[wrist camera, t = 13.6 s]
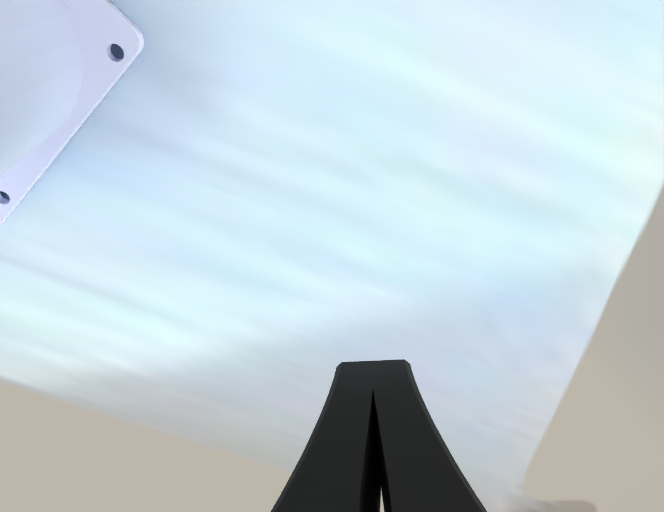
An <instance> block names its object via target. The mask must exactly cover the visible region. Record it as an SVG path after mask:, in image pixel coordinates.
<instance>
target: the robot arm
mask: <svg viewBox="0 0 664 512" xmlns="http://www.w3.org/2000/svg"><path fill="white" fill-rule="evenodd" d="M112 44H117V45H119V46H120V47H121V48H122V49H123V51H124V57H123V59H117V58H116V57H114V56H113V54H112V53H111V49H110V47H111V45H112ZM143 47H144V37H143V35H142V32H141V31H140V30H139V28H138V27H137V26H136V25H135V24H134V23H133V22H131V21H130V20H129V19H128V18H127V17H126V16H125V15H124V14H123V13H122V12H121V11H120V10H118V9H117V8H116V7H115V6H114V5H113V4H112V3H111V2H110V1H109V0H0V191H3V192H5V193H6V194H7V195H8V196H9V198H10V199H6V198H3V197H2V196H1V194H0V224H2V223H3V222H4V221H5V220H6V219H7V217H8V216H9V215H10V214H11V212H12V211H13V210H14V209H15V208H16V206H17V205H18V204H19V203H20V201H21V200H22V199H23V198H24V196H25V195H26V194H27V193H28V191H29V190H30V189H31V188H32V186H33V185H34V184H35V183H36V181H37V180H38V179H39V178H40V176H41V175H42V174H43V173H44V171H45V170H46V169H47V168H48V167H49V165H50V164H51V163H52V162H53V160H54V159H55V158H56V157H57V155H58V154H59V153H60V152H61V150H62V149H63V148H64V147H65V145H66V144H67V143H68V142H69V140H70V139H71V138H72V137H73V135H74V134H75V133H76V132H77V130H78V129H79V128H80V127H81V126H82V124H83V123H84V122H85V121H86V119H87V118H88V117H89V116H90V114H91V113H92V112H93V111H94V109H95V108H96V107H97V106H98V104H99V103H100V102H101V101H102V99H103V98H104V97H105V96H106V94H107V93H108V92H109V91H110V89H111V88H112V87H113V86H114V85H115V83H116V82H117V81H118V80H119V78H120V77H121V76H122V75H123V73H124V72H125V71H126V70H127V68H128V67H129V66H130V65H131V63H132V62H133V61H134V60H135V58H136V57H137V56H138V55H139V53H140V52H141V51H142V49H143ZM381 489H382V497H383V504H384V511H385V512H487V511H486V509H485V508H484V506H483V505H482V503H481V502H480V500H479V499H478V497H477V496H476V494H475V493H474V491H473V489H472V488H471V486H470V485H469V483H468V481H467V480H466V478H465V477H464V475H463V474H462V472H461V470H460V469H459V467H458V465H457V464H456V462H455V460H454V458H453V457H452V455H451V453H450V452H449V450H448V448H447V446H446V444H445V442H444V441H443V439H442V437H441V435H440V433H439V431H438V430H437V428H436V426H435V424H434V422H433V420H432V418H431V416H430V414H429V412H428V410H427V408H426V405H425V403H424V401H423V399H422V397H421V394H420V392H419V390H418V387H417V385H416V382H415V379H414V376H413V373H412V370H411V366H410V364H409V363H408V362H407V361H406V360H382V361H359V362H342V363H341V364H339V365H338V366H337V368H336V372H335V376H334V379H333V382H332V385H331V388H330V391H329V394H328V397H327V399H326V402H325V405H324V407H323V409H322V412H321V414H320V417H319V419H318V421H317V424H316V426H315V428H314V430H313V432H312V434H311V437H310V439H309V441H308V443H307V445H306V448H305V450H304V452H303V454H302V456H301V458H300V460H299V461H298V463H297V465H296V467H295V469H294V471H293V473H292V475H291V477H290V478H289V480H288V482H287V484H286V486H285V488H284V490H283V491H282V493H281V495H280V497H279V499H278V500H277V502H276V504H275V505H274V507H273V509H272V510H271V512H380V497H381Z"/></svg>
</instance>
